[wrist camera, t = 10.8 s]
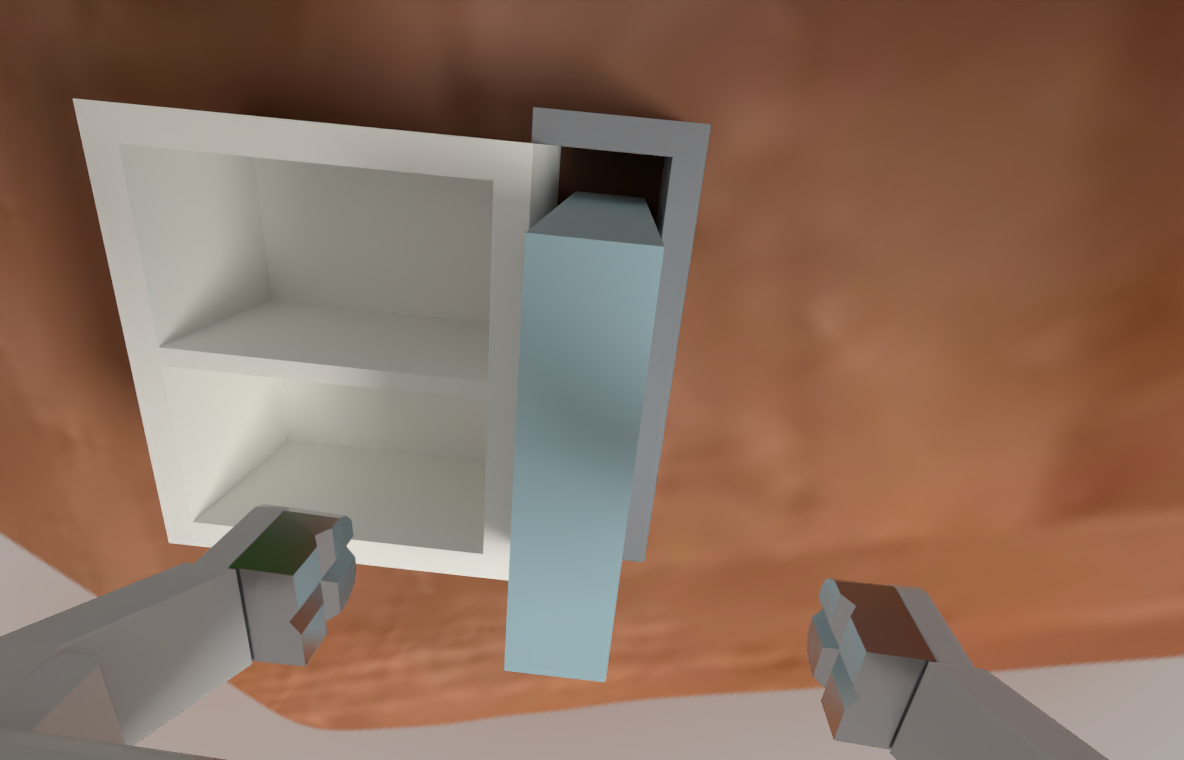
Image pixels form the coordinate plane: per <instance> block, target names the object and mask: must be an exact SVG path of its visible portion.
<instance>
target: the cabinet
mask: <svg viewBox="0 0 1184 760" xmlns="http://www.w3.org/2000/svg"><path fill="white" fill-rule="evenodd" d="M72 99H73V103H74V108H75V113H76V117H77V122H78V126H79V131H80V136H81V140H82V145H83V149H84V154H85V159H86V163H87V168H88V173H89V177H90V182H91V186H92V191H93V196H94V200H95V205H96V209H97V214H98V219H99V223H100V228H101V232H102V237H103V242H104V246H105V251H106V255H107V260H108V265H109V269H110V274H111V279H112V283H113V288H114V292H115V297H116V302H117V306H118V311H119V315H120V320H121V325H122V329H123V334H124V338H125V343H126V348H127V352H128V357H129V362H130V366H131V371H132V375H133V380H134V385H135V389H136V394H137V398H138V403H139V408H140V412H141V417H142V421H143V426H144V431H145V435H146V440H147V444H148V449H149V454H150V458H151V463H152V468H153V472H154V477H155V481H156V486H157V491H158V495H159V500H160V504H161V509H162V514H163V518H164V523H165V527H166V532H167V537H168V541H169V543H174V544H183V545H192V546H201V547H210V548H211V547H212V546H213V545H215V544H216V543H217V542H218V541H219V540H220V539H221V538H222V537H223V536H224V535H225V534H226V533H227V532H229V531H230V530H231V529H232V528H233V527H234V526H235V525H236V524H237V523H238V522H239V521H240V520H241V519H243V518H244V517H245V516H246V515H247V514H248V513H249V512H250V511H251V510H252V509H253V508H254V507H256V506H259V505H262V504H269V505H276V506H283V507H289V508H299V509H305V510H312V511H319V512H325V513H332V514H338V515H345V516H347V517H348V518H350V519H351V520H352V528H353V537H352V539H351V540H350V542H349V543H348V544H347V548H348V549H349V550H350V551H351V552H352V554H353V555H354V556H355V561H356V564H364V565H373V566H382V567H391V568H400V569H409V570H418V571H427V572H436V573H445V574H454V575H463V576H472V577H481V578H490V579H499V580H508V581H509V560H510V539H511V518H512V497H513V476H514V455H515V434H516V413H517V392H518V371H519V350H520V329H521V308H522V287H523V266H524V245H525V232H527V231H528V230H529V229H530V228H531V227H533V226H534V225H535V224H536V223H538V222H539V221H540V220H541V219H543V218H544V217H545V216H546V215H547V214H549V213H550V212H551V211H552V210H554V209H555V208H556V207H557V204H558V189H559V174H560V159H561V146H565V147H575V148H585V149H595V150H605V151H616V152H626V153H636V154H646V155H656V156H664V164H663V172H662V179H661V187H660V195H659V203H658V210H657V218H656V227H657V230H658V232H659V234H660V237H661V239H662V242H663V244H664V254H663V262H662V269H661V276H660V284H659V291H658V299H657V306H656V313H655V321H654V328H653V335H652V343H651V350H650V357H649V365H648V372H647V379H646V387H645V394H644V402H643V409H642V416H641V424H640V431H639V438H638V446H637V453H636V460H635V468H634V475H633V483H632V490H631V497H630V505H629V512H628V519H627V527H626V534H625V541H624V549H623V556H622V560H627V561H636V562H644V559H645V553H646V546H647V540H648V533H649V527H650V520H651V514H652V507H653V501H654V494H655V488H656V481H657V475H658V468H659V462H660V455H661V449H662V442H663V436H664V429H665V423H666V416H667V410H668V403H669V397H670V390H671V384H672V377H673V370H674V364H675V357H676V351H677V344H678V338H679V331H680V325H681V318H682V312H683V305H684V299H685V292H686V286H687V279H688V273H689V266H690V260H691V253H692V247H693V240H694V234H695V227H696V221H697V214H698V208H699V201H700V195H701V188H702V182H703V175H704V169H705V162H706V156H707V149H708V142H709V136H710V129H711V124H703V123H692V122H682V121H672V120H662V119H651V118H641V117H631V116H621V115H610V114H600V113H590V112H579V111H569V110H559V109H549V108H538V107H533V121H532V142H531V143H527V142H516V141H506V140H496V139H486V138H476V137H466V136H456V135H445V134H435V133H425V132H415V131H405V130H395V129H384V128H374V127H364V126H354V125H344V124H334V123H323V122H313V121H303V120H293V119H283V118H273V117H263V116H252V115H242V114H232V113H221V112H211V111H201V110H190V109H180V108H169V107H159V106H148V105H138V104H127V103H117V102H106V101H96V100H85V99H75V98H72Z"/></svg>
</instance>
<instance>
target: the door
mask: <svg viewBox="0 0 1184 760" xmlns="http://www.w3.org/2000/svg"><path fill="white" fill-rule="evenodd" d="M663 254H664V244H663V242H662V239H661V237H660V234H659V232H658V230H657V227H656V225H655V222H654V220H653V217H652V215H651V212H650V210H649V208H648V205H647V203H646V200H645V198H639V197H629V196H619V195H609V194H599V193H589V192H579V191H576V192H574V193H573V194H572V195H571V196H570V197H568V198H567V199H566V200H565V201H563V202H562V203H561V204H560V205H559V206H557V207H556V208H555V209H554V210H552V211H551V212H550V213H549V214H547V215H546V216H545V217H544V218H543V219H541V220H540V221H539V222H538V223H536V224H535V225H534V226H533V227H531V228H530V229H529V230H528V231H527V232H525V245H524V266H523V287H522V308H521V329H520V350H519V371H518V392H517V413H516V434H515V455H514V476H513V497H512V518H511V539H510V560H509V581H508V602H507V623H506V644H505V665H504V671H511V672H520V673H529V674H538V675H547V676H555V677H564V678H573V679H582V680H591V681H600V682H605V681H606V674H607V667H608V659H609V652H610V644H611V637H612V630H613V622H614V615H615V608H616V600H617V593H618V586H619V578H620V571H621V563H622V556H623V549H624V541H625V534H626V527H627V519H628V512H629V505H630V497H631V490H632V483H633V475H634V468H635V460H636V453H637V446H638V438H639V431H640V424H641V416H642V409H643V402H644V394H645V387H646V379H647V372H648V365H649V357H650V350H651V343H652V335H653V328H654V321H655V313H656V306H657V299H658V291H659V284H660V276H661V269H662V262H663Z"/></svg>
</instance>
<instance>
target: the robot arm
mask: <svg viewBox="0 0 1184 760" xmlns="http://www.w3.org/2000/svg"><path fill="white" fill-rule="evenodd" d="M352 537H353V528H352V520H351V519H350V518H348V517H347V516H345V515H338V514H332V513H325V512H319V511H312V510H305V509H299V508H289V507H283V506H276V505H269V504H262V505H259V506H256V507H254V508H253V509H252V510H251V511H250V512H249V513H248V514H247V515H246V516H245V517H244V518H243V519H241V520H240V521H239V522H238V523H237V524H236V525H235V526H234V527H233V528H232V529H231V530H230V531H229V532H227V533H226V534H225V535H224V536H223V537H222V538H221V539H220V540H219V541H218V542H217V543H216V544H215V545H213V546H212V547H211V548H210V549H209V550H208V551H207V552H206V553H205V554H204V555H203V556H202V557H201V558H199V559H198V560H197V561H196V562H195V563H194V564H191V563H183V564H180V565H178V566H175V567H173V568H170V569H168V570H165V571H163V572H160V573H158V574H155V575H153V576H150V577H148V578H145V579H143V580H140V581H138V582H135V583H133V584H130V585H128V586H125V587H123V588H120V589H118V590H115V591H113V592H110V593H108V594H105V595H103V596H100V597H98V598H95V599H93V600H90V601H88V602H85V603H83V604H80V605H78V606H76V607H73V608H71V609H68V610H66V611H63V612H61V613H58V614H55V615H53V616H51V617H48V618H46V619H43V620H41V621H38V622H36V623H33V624H31V625H28V626H26V627H23V628H21V629H18V630H16V631H13V632H11V633H8V634H6V635H3V636H1V637H0V760H225V759H218V758H211V757H205V756H198V755H191V754H184V753H177V752H170V751H164V750H157V749H150V748H142V747H136V746H134V745H135V744H137V743H138V742H139V741H141V740H142V739H144V738H145V737H147V736H148V735H150V734H151V733H153V732H154V731H155V730H157V729H158V728H160V727H161V726H163V725H164V724H166V723H167V722H168V721H170V720H171V719H173V718H174V717H176V716H177V715H179V714H180V713H181V712H183V711H184V710H186V709H187V708H189V707H190V706H192V705H193V704H195V703H196V702H198V701H199V700H200V699H202V698H203V697H205V696H206V695H208V694H209V693H210V692H212V691H213V690H215V689H216V688H218V687H219V686H221V685H222V684H224V683H225V682H227V681H228V680H229V679H231V678H232V677H234V676H235V675H237V674H238V673H240V672H241V671H242V670H244V669H245V668H247V667H248V666H250V665H251V664H252V661H260V662H269V663H279V664H288V665H297V666H306V665H307V663H308V662H309V660H310V659H311V657H312V655H313V654H314V652H315V651H316V649H317V648H318V646H319V645H320V643H321V642H322V640H323V639H324V637H325V636H326V634H327V630H326V621H327V620H328V619H330V618H332V617H334V616H335V615H337V614H339V613H340V612H341V611H342V609H343V607H344V606H345V604H346V602H347V601H348V599H349V596H350V593H351V591H352V588H353V585H354V581H355V573H356V561H355V556H354V555H353V554H352V552H351V551H350V550H349V549H348V548H347V544H348V543H349V542H350V540H351V539H352ZM819 599H820V602H821V604H822V607H823V609H822V610H821V611H820V612H818V613H817V614H816V615H814V616H813V617H812V619H811V623H810V627H809V631H808V644H807V651H808V658H809V664H810V667H811V670H812V674H813V677H814V678H815V679H816V680H817V681H818V682H819V683H820V684H821V685H822V686H823V687H824V688H825V691H824V694H823V697H822V700H821V702H822V705H823V708H824V711H825V714H826V717H827V720H828V723H829V726H830V730H831V732H832V736H833V739H834V740H837V741H842V742H848V743H855V744H860V745H866V746H872V747H878V748H884V749H890V750H891V752H890V753H891V754H892V755H893V756H894V757H895V759H896V760H1108V759H1107V758H1105V757H1104V756H1103V755H1101V754H1100V753H1099V752H1097V751H1096V750H1095V749H1093V748H1092V747H1091V746H1089V745H1088V744H1087V743H1085V742H1084V741H1082V740H1081V739H1080V738H1078V737H1077V736H1076V735H1074V734H1073V733H1072V732H1070V731H1069V730H1068V729H1066V728H1065V727H1063V726H1062V725H1061V724H1059V723H1058V722H1056V721H1055V720H1054V719H1052V718H1051V717H1050V716H1048V715H1047V714H1046V713H1044V712H1043V711H1042V710H1040V709H1039V708H1037V707H1036V706H1035V705H1033V704H1032V703H1031V702H1029V701H1028V700H1026V699H1025V698H1024V697H1022V696H1021V695H1020V694H1018V693H1017V692H1016V691H1014V690H1013V689H1012V688H1010V687H1009V686H1007V685H1006V684H1005V683H1003V682H1002V681H1000V680H999V679H998V678H997V677H995V676H994V675H992V674H991V673H990V672H988V671H987V670H986V669H979V668H975V667H974V665H973V664H972V662H971V660H970V659H969V657H968V656H967V654H966V653H965V651H964V650H963V648H962V646H961V645H960V643H959V642H958V640H957V639H956V637H955V636H954V634H953V632H952V631H951V629H950V628H949V626H948V625H947V623H946V621H945V620H944V618H943V617H942V615H941V614H940V612H939V611H938V609H937V607H936V606H935V604H934V603H933V601H932V600H931V598H930V597H929V595H928V593H927V592H925V591H924V590H923V589H921V588H918V587H909V586H899V585H882V584H874V583H865V582H857V581H849V580H841V579H833V578H827V579H826V580H825V582H824V583H823V584H822V587H821V590H820V593H819Z"/></svg>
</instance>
